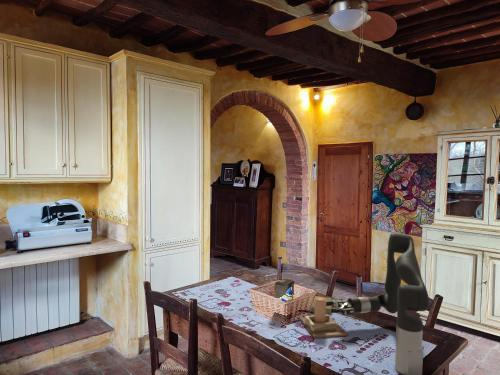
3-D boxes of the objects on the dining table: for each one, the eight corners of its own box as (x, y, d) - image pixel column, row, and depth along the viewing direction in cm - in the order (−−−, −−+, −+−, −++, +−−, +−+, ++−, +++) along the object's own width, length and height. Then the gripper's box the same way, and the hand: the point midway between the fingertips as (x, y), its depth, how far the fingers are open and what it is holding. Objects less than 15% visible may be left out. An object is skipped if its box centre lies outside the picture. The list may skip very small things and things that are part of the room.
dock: (347, 335, 170) (347, 327, 170) (313, 338, 167) (314, 329, 167) (330, 317, 190) (330, 310, 189) (300, 319, 187) (300, 311, 187)
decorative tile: (296, 299, 216) (296, 293, 216) (331, 302, 212) (331, 296, 212) (293, 311, 198) (294, 305, 198) (332, 315, 194) (332, 309, 194)
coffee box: (284, 306, 203) (284, 278, 202) (293, 309, 199) (294, 280, 198) (274, 311, 196) (275, 282, 195) (284, 315, 192) (285, 284, 191)
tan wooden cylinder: (327, 327, 176) (328, 301, 175) (316, 328, 175) (317, 301, 174) (323, 322, 181) (323, 296, 180) (312, 323, 180) (313, 297, 180)
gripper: (352, 292, 188) (322, 294, 185) (366, 303, 174) (334, 305, 171) (352, 306, 188) (322, 308, 185) (365, 318, 174) (333, 320, 171)
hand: (327, 307), depth 178 cm, fingers open, 8 cm apart
